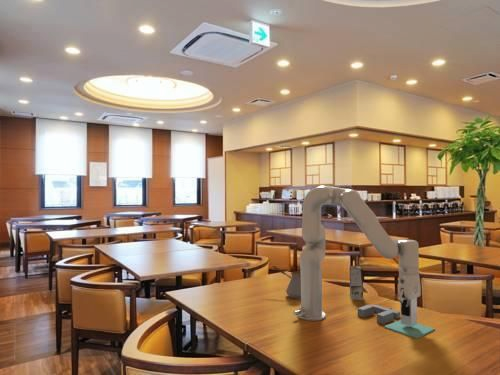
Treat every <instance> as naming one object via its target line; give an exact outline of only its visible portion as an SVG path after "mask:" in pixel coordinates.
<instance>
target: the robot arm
mask: <svg viewBox="0 0 500 375" xmlns="http://www.w3.org/2000/svg"><path fill="white" fill-rule="evenodd" d="M325 205H332V206H337V207H342V208H343V209H344V210H345V211H346V212H347V214H348V215H349V216H350V217H351V218H352V219H353V221H354V222H355V224H356V225H357V226H358V227H359V229H360V231H361V232H362V233H363V234H364V236H365V237H366V238H367V240H368V241H369V242H370V244H371V245H372V246H373V247H374V248H375V250H376V251H377V252H378V254H380V255H381V257H383V258H385V259H389V260H392V259H394V258H396V257H397V256H398V282H397V285H398V286H397V294H398V298H397V300H398V301H399V302H400V315H401V314H402V315H405V316H409V306H408V305H409V300H412V299H414V298H417V299H418V298H419V297H420V296H421V295H422V294H421V278H420V274H419V272H420V271H419V269H420V268H419V266H420V264H419V263H420V262H419V260H420V259H419V255H420V252H419V249H420V248H419V242H418V241H417V240H414V239H398V238H393V237H390V235H389V234H388V233H387V231H386V229H384V227H383V226H382V225H381V224H380V222H379V219H378V216H377V215H376V214H375V213H374V211H373V210H372V209H371V208H370V206H369V205H367V203H366V202H365V201H364V199H363V198H362V197H361V194H360V193H359V192H358V191H357V190H355V189H350V188H343V187H342V188H341V187H335V186H330V185H319V186H317V187H314V188H312V189H311V190H309V191H308V192H307V193H306V194H305V196H304V199H303V203H302V217H301V218H302V220H301V238H302V239H303V242H305V248H304V249H303V250H302V251H301V253H300V254H299V269H300V270H299V272H301V299H300V306H299V307H298V309H297V310H294V311H293V315H294V316H298V318H300V319H301V320H305V321H310V322H311V321H313V322H314V321H315V322H316V321H321V320H324V319H325V318H326V313H325V312H324V311H323V277H322V275H323V274H322V262H323V261H324V260H325V258H326V242H327V241H326V240H327V239H326V235H327V233H326V229H325V228H326V227H325V226H324V225H323V223H322V207H323V206H325ZM404 296H405V297H406V298H404ZM404 299H405V300H406V302H405V301H404Z"/></svg>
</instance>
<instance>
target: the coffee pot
mask: <svg viewBox="0 0 500 375" xmlns="http://www.w3.org/2000/svg"><path fill="white" fill-rule="evenodd" d="M273 269H275V270H276V271H278V272H280V273H281V274H283V275H285V276H286V277H288V278H290V281H289V283H288V285H287V288H286V289H285V292H286V294H287V296H288V297H289V298H291V299H292V300H293V299H295V300H301V271H292V272H290V275H289V274H287V273H286V272H284V271H283V270H282V269H280V268H278V267H277V266H274V265H273V266H272V267H271V270H273Z"/></svg>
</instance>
